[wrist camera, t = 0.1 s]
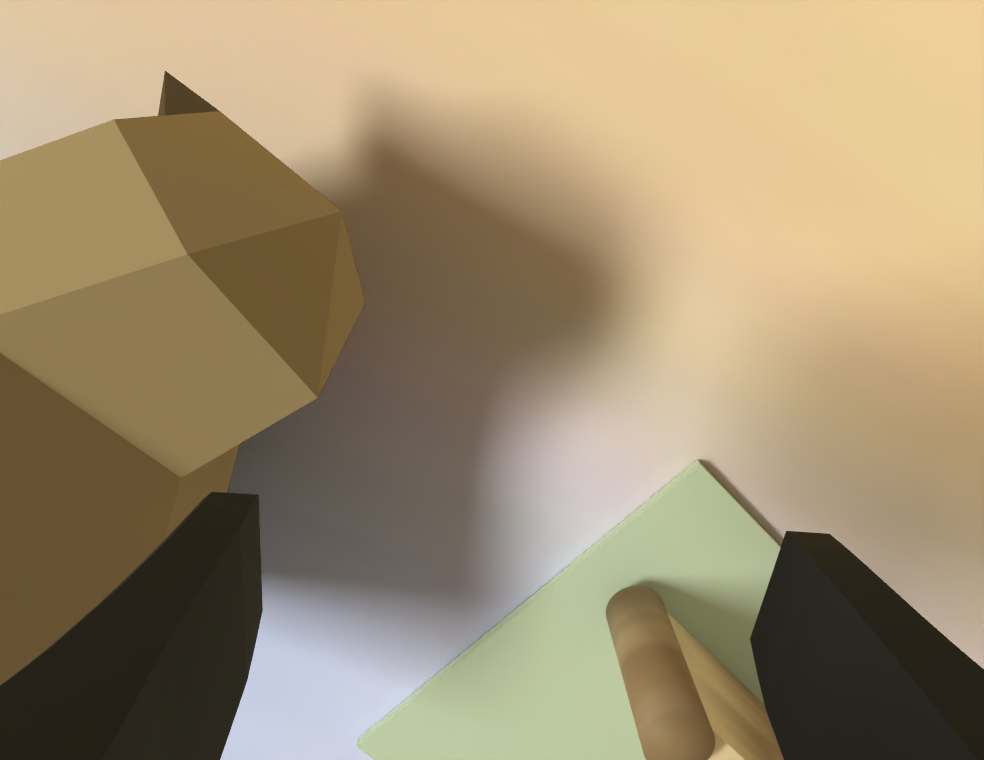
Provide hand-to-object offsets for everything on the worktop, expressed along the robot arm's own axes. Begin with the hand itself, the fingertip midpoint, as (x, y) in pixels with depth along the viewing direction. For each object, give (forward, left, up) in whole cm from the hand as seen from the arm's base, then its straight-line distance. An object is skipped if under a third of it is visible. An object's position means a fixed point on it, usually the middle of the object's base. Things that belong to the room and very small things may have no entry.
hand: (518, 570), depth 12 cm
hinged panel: (-2, -12, -10) cm, 15 cm away
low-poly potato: (-6, +6, -11) cm, 14 cm away
